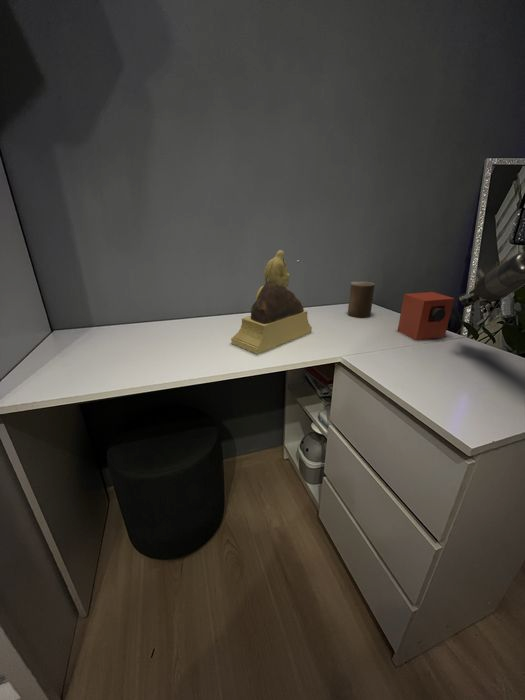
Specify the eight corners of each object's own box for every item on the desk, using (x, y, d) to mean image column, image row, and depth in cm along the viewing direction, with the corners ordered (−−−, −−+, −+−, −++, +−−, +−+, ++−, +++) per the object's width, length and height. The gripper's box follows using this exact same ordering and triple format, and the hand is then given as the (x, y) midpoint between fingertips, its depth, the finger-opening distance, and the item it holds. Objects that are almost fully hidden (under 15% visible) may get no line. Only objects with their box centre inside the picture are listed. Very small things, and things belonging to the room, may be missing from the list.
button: (443, 321, 101) (447, 308, 99) (432, 322, 100) (435, 309, 98) (439, 319, 103) (442, 307, 101) (428, 320, 102) (431, 308, 100)
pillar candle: (367, 319, 125) (372, 283, 119) (344, 315, 130) (348, 281, 124) (372, 313, 133) (377, 279, 127) (351, 310, 138) (354, 277, 131)
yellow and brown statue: (285, 324, 120) (287, 246, 108) (311, 332, 112) (316, 248, 100) (231, 343, 103) (226, 252, 90) (257, 354, 94) (255, 255, 82)
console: (444, 336, 106) (454, 298, 101) (415, 340, 104) (424, 300, 98) (424, 327, 115) (432, 291, 109) (397, 330, 112) (404, 294, 107)
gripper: (480, 301, 77) (447, 319, 94) (533, 288, 76) (491, 309, 93) (469, 275, 79) (440, 298, 96) (521, 262, 78) (482, 287, 95)
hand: (465, 303), depth 94 cm, fingers closed
